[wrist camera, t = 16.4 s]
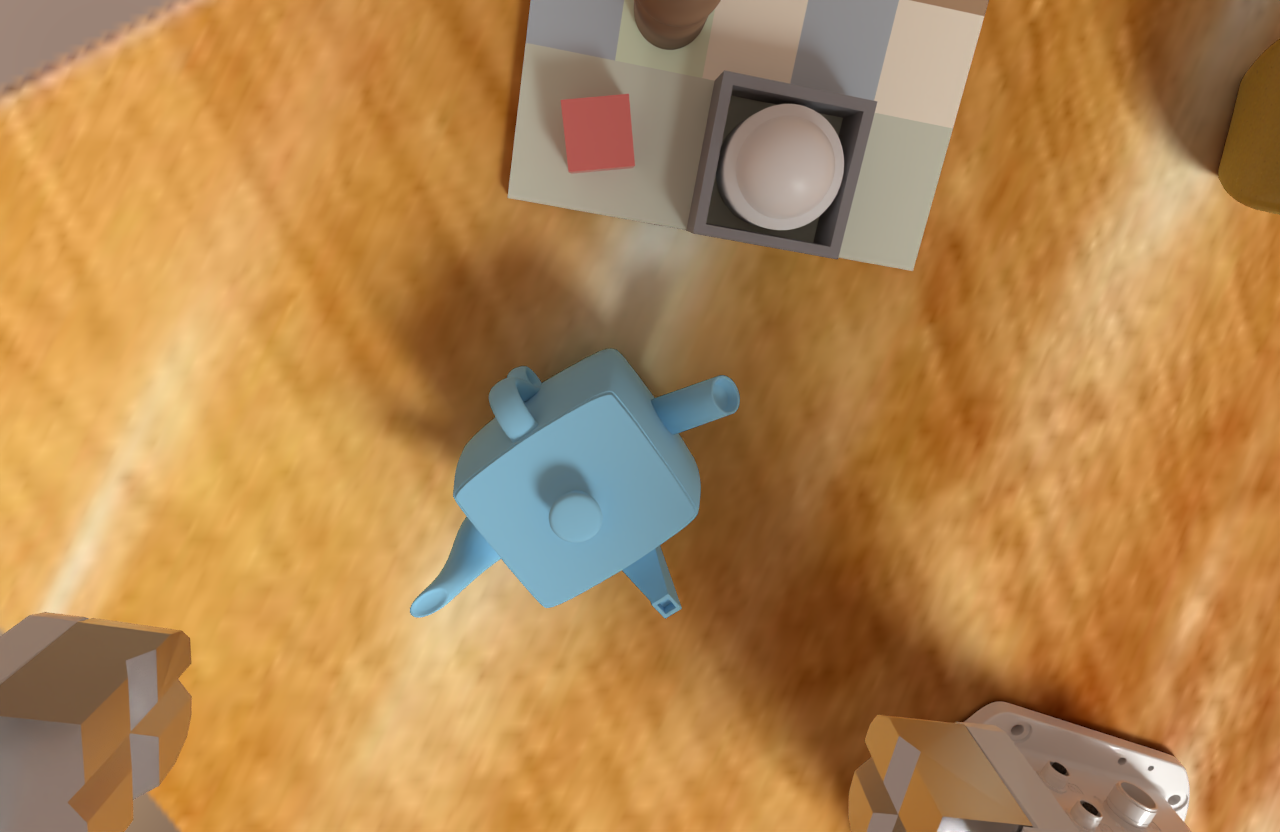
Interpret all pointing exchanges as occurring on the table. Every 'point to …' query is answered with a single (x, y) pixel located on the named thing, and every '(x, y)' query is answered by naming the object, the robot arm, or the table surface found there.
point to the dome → (780, 167)
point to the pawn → (672, 20)
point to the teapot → (578, 482)
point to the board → (753, 111)
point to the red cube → (598, 133)
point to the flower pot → (1255, 137)
